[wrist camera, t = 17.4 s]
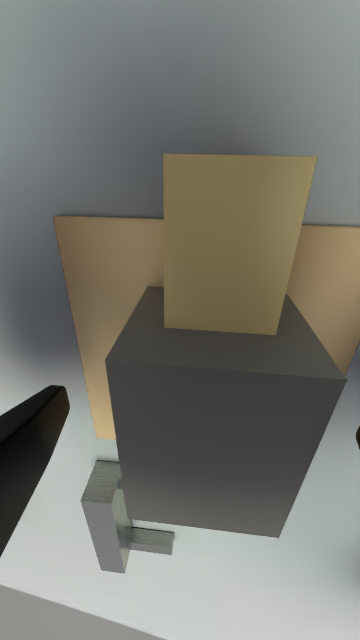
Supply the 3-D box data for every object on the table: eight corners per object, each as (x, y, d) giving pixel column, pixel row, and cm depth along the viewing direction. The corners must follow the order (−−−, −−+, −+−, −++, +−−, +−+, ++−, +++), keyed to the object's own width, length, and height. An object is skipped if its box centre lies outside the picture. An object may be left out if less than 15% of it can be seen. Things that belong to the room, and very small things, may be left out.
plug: (318, 165, 6) (447, 147, 3) (240, 490, 13) (251, 599, 10) (142, 161, 7) (73, 142, 3) (155, 480, 14) (136, 582, 10)
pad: (396, 227, 7) (406, 230, 7) (306, 451, 12) (309, 459, 12) (59, 215, 8) (52, 216, 8) (99, 430, 13) (96, 437, 13)
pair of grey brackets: (174, 469, 14) (169, 511, 12) (173, 540, 18) (169, 579, 16) (-93, 439, 15) (-134, 474, 13) (-40, 512, 19) (-66, 546, 17)
